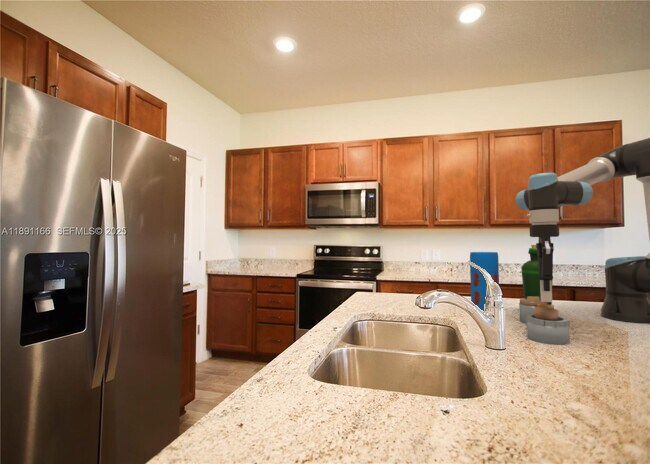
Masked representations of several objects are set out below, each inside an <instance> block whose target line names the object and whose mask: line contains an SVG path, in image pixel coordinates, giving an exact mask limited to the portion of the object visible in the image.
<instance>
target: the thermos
mask: <svg viewBox="0 0 650 464" xmlns="http://www.w3.org/2000/svg"><path fill="white" fill-rule="evenodd" d="M470 261H471V262H473V263H475V264H476V265H478V266H480V267H481V268H483V269H485V270H486V271H487V272H488V273H489V274H490V275H491V277H492V279H493V280H494V282H496V283H497V284H498V285H499V286H500V273H499V272H500V271H499V270H500V269H499V266H500V265H499V254H498V252H496V251H471V252H470V253H469V262H470ZM469 268H470V271H469V272H470V274H469V275H470V302H471V301H472V302H473V303H474V304H475V305H477V306H478V307H479V308H480V309H481V310H483V311H484V304H485V296H486V280H485V278H484V276H483V274H482V273H481V272H480V271H479V270H478V269H476V268H474V267H472V266H471V265H470V264H469Z"/></svg>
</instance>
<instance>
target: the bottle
mask: <svg viewBox="0 0 650 464" xmlns="http://www.w3.org/2000/svg"><path fill="white" fill-rule="evenodd" d="M528 248H529V249H528V253H527V254H529V257H530V260H527V261H526V262H524V263H523V264H522V266H521V267H520V269H521V277H522V278H521V279H522V291H523V298H527V296H538V297H539V299H541V293H540V280H539V279H538V278H540V276H539V267H538V256H537V248H536V244H531V247H528ZM551 281H552V282H553V280H551ZM548 305H553V301H552V302H548Z"/></svg>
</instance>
